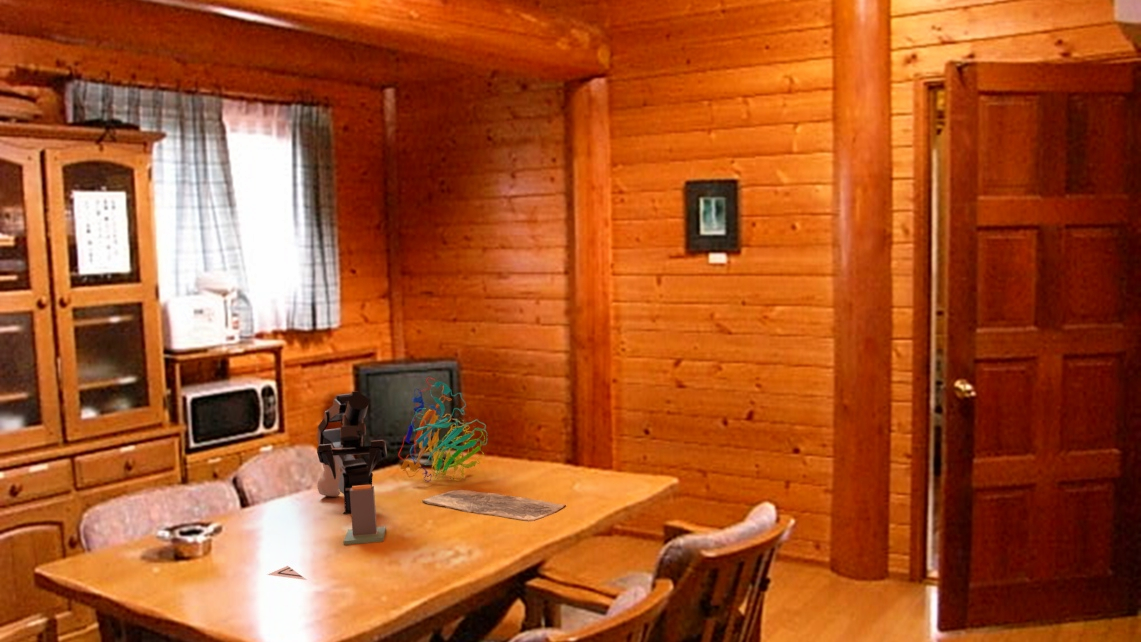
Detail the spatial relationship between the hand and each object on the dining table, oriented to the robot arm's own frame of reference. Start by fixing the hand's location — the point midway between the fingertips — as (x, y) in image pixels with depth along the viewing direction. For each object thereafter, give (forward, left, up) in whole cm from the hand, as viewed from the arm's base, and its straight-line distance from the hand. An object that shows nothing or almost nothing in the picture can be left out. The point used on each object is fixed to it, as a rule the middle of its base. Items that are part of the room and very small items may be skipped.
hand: (351, 476), depth 278 cm
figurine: (-16, +35, -14) cm, 41 cm away
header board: (+6, -13, -14) cm, 19 cm away
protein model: (+17, +54, -14) cm, 59 cm away
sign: (+5, -42, -14) cm, 44 cm away
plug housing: (+6, -13, -12) cm, 19 cm away
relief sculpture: (+37, +15, -14) cm, 42 cm away
